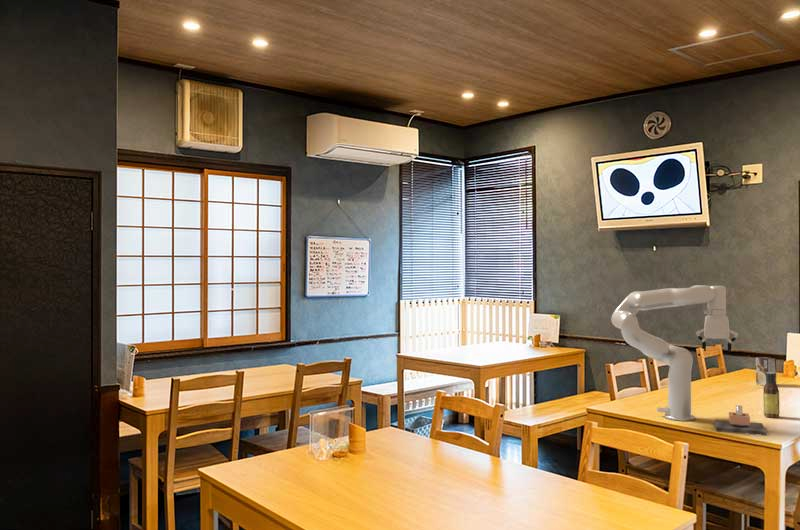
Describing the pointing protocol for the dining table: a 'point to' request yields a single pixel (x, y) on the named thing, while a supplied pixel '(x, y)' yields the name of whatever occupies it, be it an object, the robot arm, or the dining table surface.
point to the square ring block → (739, 418)
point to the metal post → (739, 412)
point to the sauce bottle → (771, 396)
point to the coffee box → (764, 368)
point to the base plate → (750, 429)
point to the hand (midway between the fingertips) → (716, 351)
